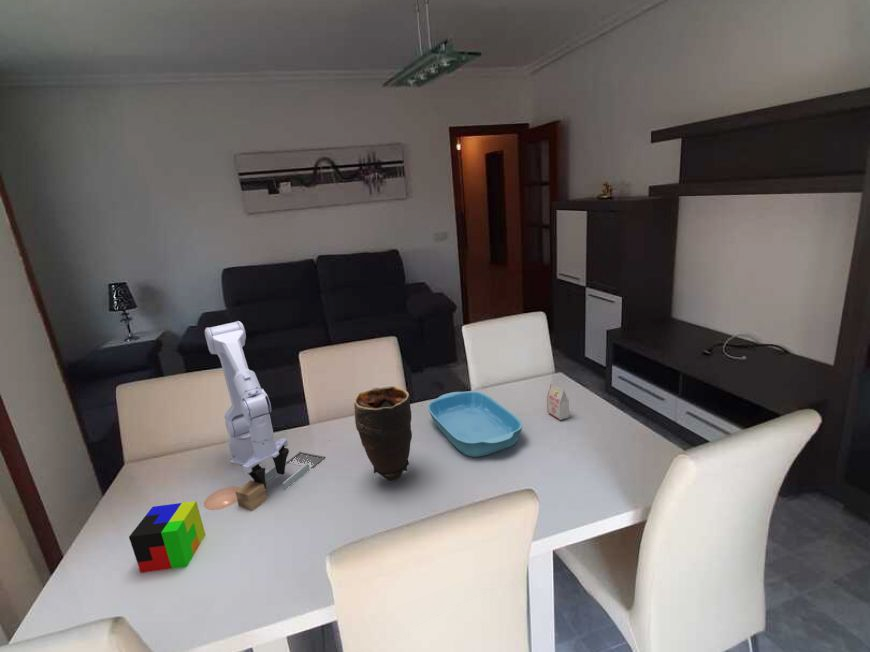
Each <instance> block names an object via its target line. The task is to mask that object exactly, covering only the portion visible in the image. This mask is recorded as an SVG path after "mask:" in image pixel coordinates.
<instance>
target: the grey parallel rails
mask: <svg viewBox="0 0 870 652" xmlns="http://www.w3.org/2000/svg"><path fill="white" fill-rule="evenodd" d="M287 464H288V463H287V462H286V463H285V466H286V465H287ZM286 467H287V466H286ZM307 471H308V472H309V471H310V467H309V465H308V463H306V464H305V465H304V466H301V467H300V468H298V470H296V472H294V473H293V474H292V475H290V476H289V477H288V478H287V479H285V481H283V482H282V488H283V491H285V490H286V489H287V488H288V487H289V486H290V487H292V486H293V485H294V484H295V483H296V482H298V481H299V480H300V479H301V478H302V477H304V476H305V475H306V474H307V473H308V472H307ZM306 472H307V473H306ZM276 473H277V471H276V468H275V465H273V466H272V467H271V468H270V469H268V470H267V471H265V482H266V483H267V482H268V481H269V480H271V479H272V478H273V477H274V476H275V475H277V474H278V473H277V474H276ZM305 473H306V474H305ZM304 474H305V475H304ZM272 476H273V477H272ZM271 477H272V478H271ZM300 477H301V478H300ZM299 478H300V479H299ZM298 479H299V480H298ZM267 480H268V481H267ZM294 482H295V483H294ZM293 483H294V484H293ZM292 484H293V485H292ZM290 487H289V488H290ZM289 488H288V489H289ZM288 489H287V490H288ZM287 490H286V491H287Z"/></svg>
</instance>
